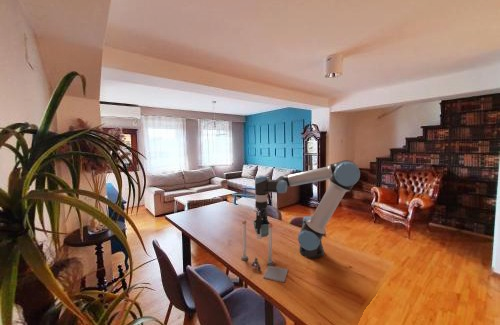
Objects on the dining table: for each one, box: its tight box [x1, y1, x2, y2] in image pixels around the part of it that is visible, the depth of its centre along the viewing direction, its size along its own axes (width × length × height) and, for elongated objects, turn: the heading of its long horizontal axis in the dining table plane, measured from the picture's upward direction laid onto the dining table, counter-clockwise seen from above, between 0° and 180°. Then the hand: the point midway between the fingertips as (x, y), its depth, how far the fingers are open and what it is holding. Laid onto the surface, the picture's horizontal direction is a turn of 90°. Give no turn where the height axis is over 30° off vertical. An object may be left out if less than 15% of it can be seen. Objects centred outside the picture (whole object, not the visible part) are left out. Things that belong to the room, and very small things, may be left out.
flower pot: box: [253, 218, 271, 238], centre depth 135 cm, size 9×9×9 cm
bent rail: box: [250, 257, 262, 272], centre depth 123 cm, size 8×5×3 cm, turn 160°
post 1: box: [240, 219, 249, 261], centre depth 130 cm, size 4×4×24 cm
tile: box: [263, 265, 289, 283], centre depth 116 cm, size 11×11×1 cm
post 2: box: [266, 222, 274, 266], centre depth 124 cm, size 4×4×24 cm
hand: (261, 234), depth 135 cm, fingers closed on flower pot, 11 cm apart
